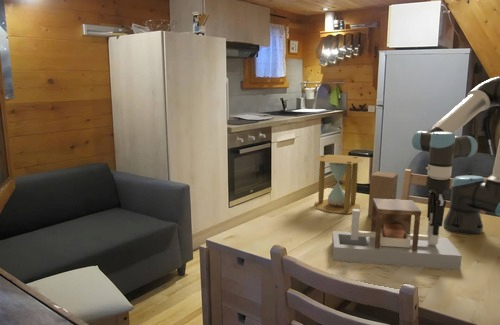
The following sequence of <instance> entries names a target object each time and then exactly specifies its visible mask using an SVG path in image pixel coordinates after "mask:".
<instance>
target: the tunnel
mask: <svg viewBox="0 0 500 325" xmlns="http://www.w3.org/2000/svg"><path fill="white" fill-rule="evenodd" d="M421 214H422V211H421V209H420V208H419V207H418V205H417V204H416V203H415V202H414V200H413V199H397V198H396V199H376V198H373V204H372V217H371V220H370V221H371V222H370V231H371V232H376V235H375V248H377V249H379V248H380V234H381V228H383V229H384V224H401V225H402V227H403V229H404V230H405V231H406V233H407V234H411V227H412V226H411V225H412V216H414V223H413V230H412V231H413V233H412V234H413V243H412V251H417V246H418V236H419V234H420V225H421V216H422V215H421Z"/></svg>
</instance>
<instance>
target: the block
mask: <svg viewBox="0 0 500 325" xmlns="http://www.w3.org/2000/svg"><path fill="white" fill-rule="evenodd" d="M383 237H391V238H404V229H403V227H402V225H401V224H384V229H383Z"/></svg>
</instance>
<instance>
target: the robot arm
mask: <svg viewBox="0 0 500 325" xmlns="http://www.w3.org/2000/svg"><path fill="white" fill-rule="evenodd" d="M496 106H498V107H500V76H496V77H492V78H489V79H487V80H484V81H483V82H481V83H479V84H478V85H476V86H475V87H474V88H473V89H471V90H470V91H468V93H467V95H466V98H464V99H463V100H462V101H461V102H460V103H458V104H457V105H456V106H455V107H454V108H452V109H451V110H450V111H449V112H447V114H445V115H444V116H443V117H441V119H439V120H438V121H437V122H436V123H434V124H433V125H432V126H431V127H430V128H428V129H427V130H419V131H416V132H415V133H414V134H413V136H412V139H411V144H412V146H413V149H415V150H417V151H420V152H424V153H428V164H427V165H428V166H426V167H425V169H426V170H427V173H426V174H427V177H426V182H425V186H426V188H428V189H430V190H428V191H427V194H428V199H427V212H426V215H427V216H426V217H427V221H428V222H427V223H428V224H427V225H428V226H427V234H426V235H428V234H429V224H430V213H433V217H432V224H430V226H431V229H430V239H429V243H437V244H438V238H440V237H439V236H440V227H443V228H444V229H445V230H448V231H450V232H453V233H457V234H460V235H470V236H472V235H475V236H476V235H481V234H482V233H483V232H482V231H483V229H484V225H483V220H482V217H481V211H482V212H487V213H490V214H492V215H493V214H494V215H496V216H497V217H500V139H499V140H498V146H497V150H496V155H495V159H494V165H493V167H492V168H493V169H492V174H491V175H489V176H488V177H486V180H485V177H483V176H480V175H469V174H468V175H457V176H455V177H454V178H452V184H451V177H452V172H453V161H454V159H463V158H469V157H473V156H474V154H476V153H477V151H478V149H479V148H478V146H479V145H478V144H479V143H478V142H477V140H476V138H474V137H473V136H470V135H455V134H456V133H457V132H458V131H459V130H461V129H462V128H463V127H464V126H466V125H467V123H469V122H470V121H471V120H472V119H473V118H474V117H476V115H478V114H479V113H480V112H483V111H486V110H488V109H489V108H491V107H496ZM450 188H451V191H450V198H449V199H450V202H449V209H448V211H447V214H446V215H445V208H446V205H447V200H445V194H444V191H448V190H450ZM444 215H445V217H444Z"/></svg>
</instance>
